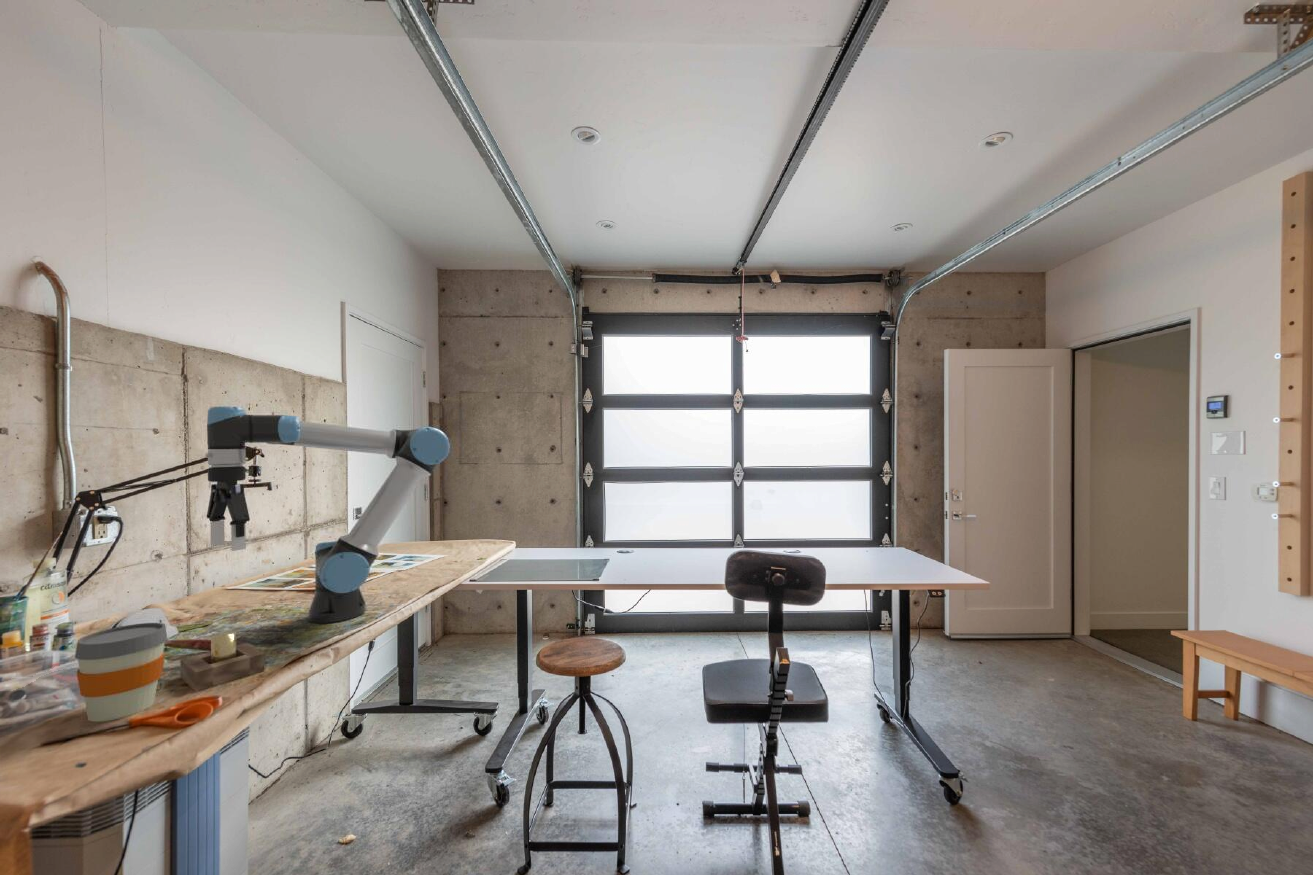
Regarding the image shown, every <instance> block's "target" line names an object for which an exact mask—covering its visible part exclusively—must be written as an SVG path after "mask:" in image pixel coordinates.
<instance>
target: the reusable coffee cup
mask: <svg viewBox="0 0 1313 875" xmlns="http://www.w3.org/2000/svg"><path fill="white" fill-rule="evenodd" d="M167 640H168V639H167V633H166V626H165V624H163V623H141V624H133V625H127V626H121V627H116V628H111V629H108V628H106V629H104V630H100V631H96V632H92V633H90V634H87V635H84V636H82V637H81V638H79V639H78V640H77V643H76V647H75V648H76V649H75V655H74V658H75V659H77V662H78V667H79V668H78V669H77V671H76V677H77V683H78V688H79V689H78V690H79V694H80V696H81V697H83V698H84V703H85V709H86V714H87V720H88V721H90V722H94V723H99V722H100V723H101V722H108V721H114V720H118V719H123V718H127V717H129V716H132V715H136V714H138V713H140V712H142V711H144V710H147V709H148V708H150V707H151V706H153V705H154V703H155V699H156V698H155V697H156V693H157V686H158V681H159V679H160V678H161V677H162V674H163V668H164V664H165V659H166V658H165V657H166V652H165V651H164V649H165V643H166V642H167Z"/></svg>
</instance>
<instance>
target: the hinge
mask: <svg viewBox="0 0 1313 875" xmlns="http://www.w3.org/2000/svg"><path fill="white" fill-rule="evenodd" d="M141 623H163V624H165V626H166V633H167V638H168V639H169V638H172V637H174V636H175V635H178V634H179V629H178V628H177V626H173V625H171V623H170V622H169V620H168V618H167V617H166V615H165V613H164V611H163V610H162V608H159V607H153V608H152V607H150V608H147V609H145V608H144V609H141V610H137V611H135V612H132V613H129V614H127V615H124V616H122V617H121V618H119V619H117V620H116V621H114V622H113V623H112V624H110V625H109V626H108V628H107V629H111V628H116V627H121V626H127V625H133V624H141Z"/></svg>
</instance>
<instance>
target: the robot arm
mask: <svg viewBox="0 0 1313 875" xmlns="http://www.w3.org/2000/svg"><path fill="white" fill-rule="evenodd" d="M206 422H207V423H206V434H207V435H206V437H207V439H206V440H207V453H205V458H207V465H208V466H210V467H208V468H207V481H208V482H211V483H214V484H210V485H211V486H210V495H209V502H208V507H207V514H206V519H209V520H208V521H209V522H210V524H209V525H210V526H209V527H210V547H217V546H218V547H219V546H224V545H225V542H226V541H225V538H226V537H225V520H226V516H225V512H226V510H227V509H228V513H229V515H230V517H231V518H230V519H231V520H230V522H229V526H230V530H231V531H230V536H231V539H230V541H231V542H230V544H231V547H230V548H231V552H232V551H233V552H234V551H241V550H246V549H247V548H246V547H247V546H246V545H247V543H246V542H247V540H246V538H247V536H246V534H247V533H246V531H247V530H246V524H247V522H250V520H251V518H250V513H249V509H248V504H247V501H246V495H245V486H244V484H243V483H242V484H238V481H239V482H240V481H245V479H247V478H246V477H247V476H246V473H247V472H246V469H247V468H246V467H245V466H244V465H246V463H247V460H246V459H247V458H246V457H247V456H246V455H247V454H246V453H247V452H246V444H248V443H250V444H253V443H254V444H256V443H257V444H259V443H260V444H261V443H265V444H269V445H281V446H282V445H283V446H284V445H285V446H295V447H296V446H297V447H306V448H315V449H325V450H326V449H327V450H338V451H348V452H356V453H366V454H367V453H368V454H376V455H386V456H387V457H388V458H389V459H395V461H396V464H395V466H394V468H393V469H392V470H391V472H390V473H389V475H388V477H387V478H386V479H385V480H384V482H383V484H382V485H381V486H380V488H379V490H377V492H376V494H375V495H374V496H373V498H372V500H371V501H370V502H369V504H368V505H367V507H366V508H365V510H364V511H363V513H361V516H359V518H358V520H357V521H356V523H355V524H354V526H353V527H352V528H351V530H350V532H349V533H348V534H345V535H341V536H340V537H339V538H338V539H337V540H335V541H326V542H318V543H317V544H316V545H315V551H314V555H315V562H314V563H315V567H314V568H315V571H314V572H315V578H314V580H315V582H314V583H315V584H314V586H315V587H314V589H315V590H314V596H313V599H312V601H311V604H310V605H309V608H308V613H307V620H308V622H310V623H315V624H316V623H317V624H324V623H325V624H326V623H336V622H342V621H345V620H346V621H347V620H350V619H354V618H357V617H359V616H362V615H363V614H365V612H366V609H367V608H366V607H367V605H366V601H365V598H364V596H363V594H362V591H361V588H360V587H361V586H363V585H364V583H365V582H366V581H367V580H368V578H369V575H370V570H371V566H372V565H373V563H374V562H375V561H376V559H377V558H378V556H379V551H378V546H379V545H380V543H381V542H382V540H383V539H384V537H385V535H386V534H387V533H388V532H389V529H391V527H392V525H393V523H394V522H395V521H396V519H397V517H398V516H399V514H400V513H401V511H402V510H403V508H404V507H405V505H407V502H408V501H409V500H410V498H411V496H412V495H413V493H414V491H415V490H416V489H417V487H418V486H419V484H420V483H421V481H422V480H423V479H424V478H426V477H430V476H431V475H432V474H433V472H434V471H435V469H436V468H437V466H438V465H439V464H440V463H442V462H444V461H445V459H446V458H447V457H448V455H449V453H450V449H451V447H450V446H451V445H450V443H451V442H450V441H449V438H448V436H447V435H446V433H445V432H443V431H442V430H440V429H438V428H436V427H432V426H424V427H423V426H422V427H421V428H415V429H405V430H404V429H402V430H401V429H392V430H390V431H385V430H376V429H369V428H360V427H350V426H344V425H334V424H326V423H317V422H312V421H311V422H310V421H303V420H302V421H300V417H298V416H297V415H289V414H279V415H278V414H277V415H276V414H267V415H266V414H262V415H261V414H260V415H259V414H257V415H256V414H255V415H254V414H246V409H245V408H243V407H240V406H229V405H228V406H226V405H225V406H224V405H223V406H212V407H210V408H209V409H208V410H207V421H206Z"/></svg>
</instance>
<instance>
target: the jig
mask: <svg viewBox="0 0 1313 875" xmlns="http://www.w3.org/2000/svg"><path fill="white" fill-rule="evenodd" d="M265 656H266V655H265V653H264V652H263V651H261V650H259V649H258V648H256V647H254V646H252V645H251V644H249V643H247V642H243V643H240V644H236V657H235V658H232V659H228V660H224V661H221V662H217V663H213V664H211V651H208V652H205V653H201V654H197V655H193V656H188V657H186V658H181V659H180V663H179V664H180V665H179V667H180V668H179V671H180V673H179V674H180V675H179V678H180V679H181V680H182V681H184V683H186V684H187V685H188V686H189V687H190V688H191V689H193V691H195V692H198V691H202V690H205V689H208V688H212V687H215V686H219V685H222V684H226V683H228V682H231V681H232V682H233V681H235V680H238V679H242V678H245V677H248V676H252V675H255V674H258V673H263V672H265V666H266V665H265V658H266V657H265Z"/></svg>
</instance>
